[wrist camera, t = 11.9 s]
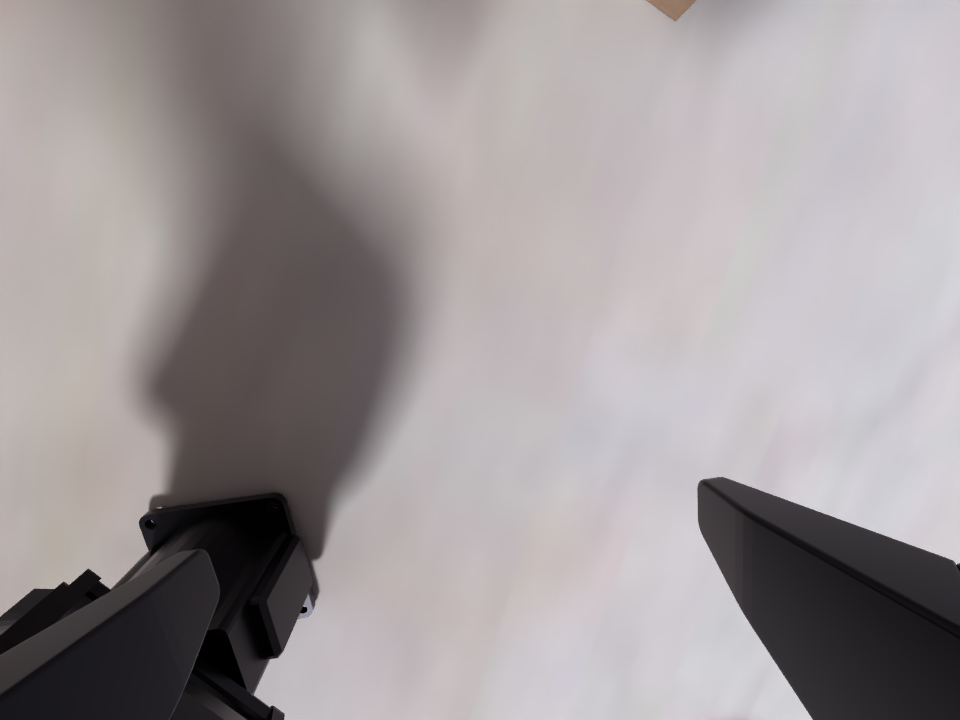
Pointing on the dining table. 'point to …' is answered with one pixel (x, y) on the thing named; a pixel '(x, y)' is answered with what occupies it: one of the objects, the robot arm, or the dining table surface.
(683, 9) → the walnut base
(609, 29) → the dining table surface
